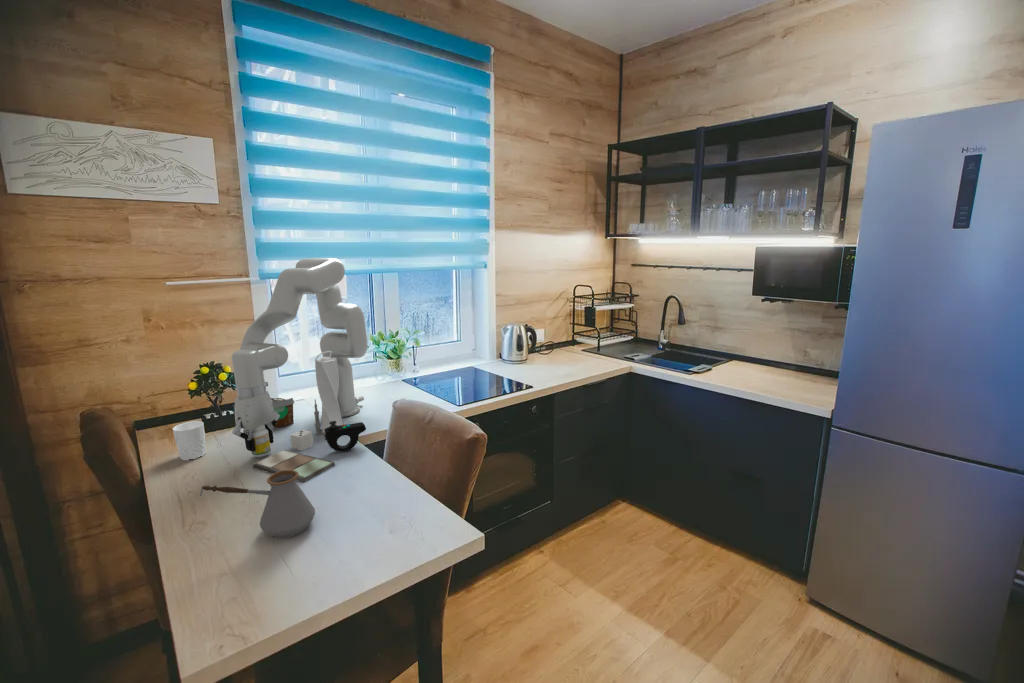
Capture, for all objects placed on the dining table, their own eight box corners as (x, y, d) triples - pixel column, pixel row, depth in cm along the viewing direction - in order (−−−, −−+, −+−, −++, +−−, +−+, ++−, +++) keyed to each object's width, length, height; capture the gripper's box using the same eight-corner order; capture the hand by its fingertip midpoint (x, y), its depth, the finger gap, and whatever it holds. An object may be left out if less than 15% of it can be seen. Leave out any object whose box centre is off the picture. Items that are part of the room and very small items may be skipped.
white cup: (214, 450, 150) (209, 421, 148) (195, 462, 143) (190, 431, 140) (191, 450, 151) (186, 420, 149) (171, 461, 143) (165, 430, 141)
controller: (325, 451, 148) (322, 421, 146) (366, 443, 153) (363, 414, 151) (327, 456, 144) (324, 426, 142) (368, 448, 150) (366, 418, 148)
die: (303, 442, 155) (301, 429, 154) (313, 444, 153) (311, 431, 152) (291, 447, 151) (290, 434, 150) (301, 450, 149) (300, 436, 148)
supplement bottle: (272, 454, 144) (267, 425, 142) (252, 459, 142) (247, 429, 139) (270, 448, 149) (266, 419, 147) (251, 452, 146) (246, 423, 144)
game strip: (285, 452, 148) (285, 449, 147) (334, 465, 138) (334, 461, 138) (253, 467, 138) (252, 463, 138) (303, 482, 129) (303, 478, 129)
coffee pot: (312, 508, 116) (305, 452, 113) (320, 532, 106) (313, 471, 103) (209, 537, 105) (199, 475, 102) (208, 567, 95) (197, 499, 92)
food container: (256, 427, 169) (252, 400, 167) (269, 420, 175) (266, 395, 173) (284, 430, 166) (281, 403, 164) (297, 423, 171) (293, 397, 169)
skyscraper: (325, 426, 170) (317, 350, 164) (347, 426, 169) (340, 350, 163) (315, 435, 161) (306, 356, 156) (338, 435, 161) (330, 356, 155)
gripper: (268, 380, 150) (276, 433, 154) (215, 398, 135) (225, 456, 139) (285, 383, 146) (292, 437, 151) (232, 401, 132) (242, 460, 136)
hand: (260, 445), depth 145 cm, fingers closed on supplement bottle, 5 cm apart
